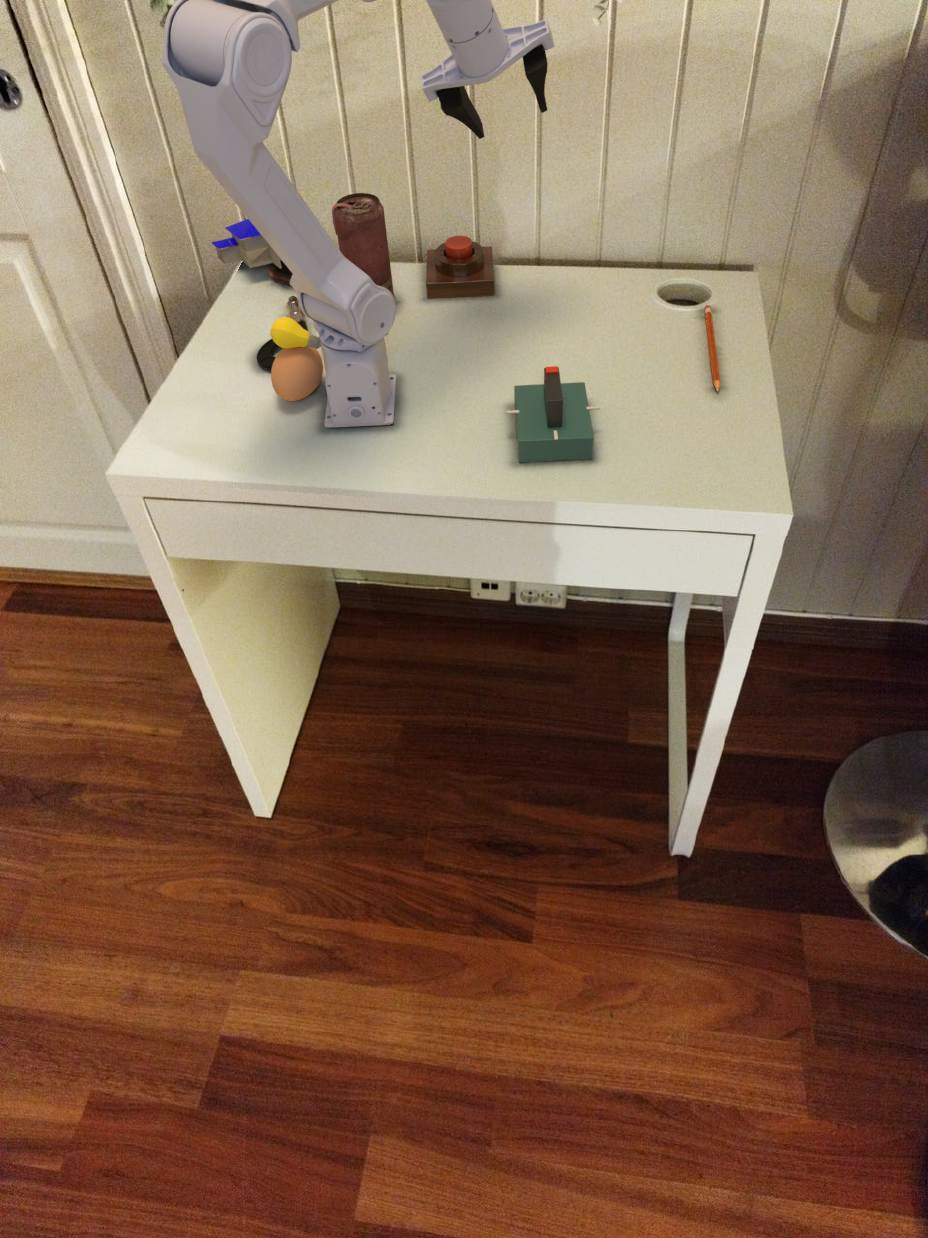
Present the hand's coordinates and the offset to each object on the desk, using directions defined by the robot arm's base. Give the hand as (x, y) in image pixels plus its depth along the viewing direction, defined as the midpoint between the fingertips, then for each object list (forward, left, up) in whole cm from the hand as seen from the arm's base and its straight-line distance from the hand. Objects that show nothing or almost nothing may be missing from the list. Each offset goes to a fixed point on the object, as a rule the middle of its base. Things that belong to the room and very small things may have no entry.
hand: (511, 118), depth 108 cm
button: (+5, +7, -19) cm, 21 cm away
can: (0, +19, -23) cm, 30 cm away
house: (+12, +34, -21) cm, 42 cm away
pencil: (-15, -23, -23) cm, 36 cm away
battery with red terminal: (-29, -3, -19) cm, 35 cm away
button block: (+5, +7, -22) cm, 24 cm away
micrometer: (-8, +30, -21) cm, 38 cm away
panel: (-29, -3, -22) cm, 37 cm away
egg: (-15, +25, -19) cm, 35 cm away
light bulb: (-19, +26, -17) cm, 37 cm away
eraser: (+7, +28, -20) cm, 36 cm away
